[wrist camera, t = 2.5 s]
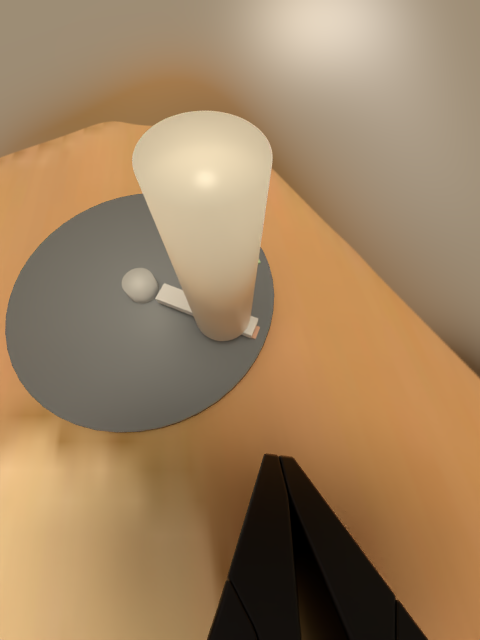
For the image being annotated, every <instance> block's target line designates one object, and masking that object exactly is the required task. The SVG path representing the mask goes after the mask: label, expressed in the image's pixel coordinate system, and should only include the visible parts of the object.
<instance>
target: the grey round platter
mask: <svg viewBox="0 0 480 640" xmlns="http://www.w3.org/2000/svg"><path fill="white" fill-rule="evenodd" d="M164 283H165V284H168V285H170V286H173V287H176V288H178V289H181V290H183V289H182V287H181V285H180V282H179V280H178V277H177V275H176V272H175V270H174V268H173V265H172V263H171V260H170V258H169V256H168V253H167V251H166V248H165V246H164V243H163V241H162V239H161V236H160V234H159V231H158V229H157V227H156V224H155V222H154V219H153V217H152V214H151V212H150V210H149V207H148V205H147V202H146V200H145V197H144V195H143V194H136V195H130V196H125V197H120V198H117V199H113V200H110V201H107V202H104V203H101V204H99V205H97V206H94V207H92V208H90V209H88V210H86V211H84V212H82V213H80V214H78V215H76V216H75V217H73V218H72V219H70V220H69V221H67V222H66V223H64V224H63V225H61V226H60V227H59V228H58V229H56V230H55V231H54V232H53V233H51V234H50V235H49V236H48V237H47V238H46V239H45V240H44V241H43V242H42V243H41V244H40V245H39V247H38V248H37V249H36V250H35V251H34V253H33V254H32V255H31V256H30V258H29V259H28V261H27V262H26V264H25V265H24V267H23V269H22V270H21V272H20V274H19V276H18V278H17V280H16V282H15V284H14V287H13V290H12V293H11V296H10V299H9V303H8V308H7V314H6V329H5V334H6V342H7V350H8V353H9V356H10V360H11V363H12V366H13V368H14V370H15V372H16V374H17V376H18V378H19V380H20V381H21V383H22V384H23V385H24V387H25V388H26V389H27V391H28V392H29V393H30V395H31V396H32V397H33V398H35V399H36V400H37V401H38V402H39V403H40V404H41V405H42V406H43V407H44V408H46V409H48V410H49V411H51V412H52V413H54V414H55V415H57V416H58V417H60V418H62V419H65V420H67V421H69V422H71V423H74V424H76V425H79V426H83V427H87V428H90V429H94V430H100V431H110V432H138V431H145V430H150V429H156V428H162V427H165V426H168V425H171V424H175V423H178V422H181V421H183V420H185V419H188V418H190V417H192V416H194V415H196V414H198V413H200V412H202V411H203V410H205V409H207V408H208V407H210V406H211V405H213V404H214V403H216V402H217V401H219V400H220V399H221V398H222V397H223V396H225V395H226V394H227V393H228V392H229V391H231V390H232V389H233V388H234V387H235V386H236V384H237V383H238V382H239V381H240V380H241V379H242V378H243V377H244V376H245V374H246V373H247V372H248V370H249V369H250V367H251V366H252V365H253V363H254V362H255V360H256V358H257V356H258V354H259V352H260V350H261V349H262V347H263V344H264V342H265V339H266V336H267V333H268V330H269V328H270V324H271V319H272V314H273V305H274V289H273V279H272V275H271V271H270V267H269V264H268V262H267V259H266V257H265V254H264V252H263V250H262V249H261V247H260V253H259V260H258V267H257V274H256V281H255V289H254V296H253V303H252V310H251V316H253V317H256V318H258V323H257V325H256V328H255V330H254V333H253V335H252V338H248V337H246V336H243V335H240V336H238V337H237V338H235V339H232V340H229V341H216V340H213V339H210V338H208V337H207V336H205V335H204V334H203V333H202V332H201V331H200V329H199V328H198V326H197V323H196V321H195V318H194V316H192V315H189V314H186V313H184V312H181V311H179V310H176V309H174V308H171V307H168V306H166V305H163V304H161V303H158V302H157V300H156V299H155V298H156V296H157V294H158V293H159V291H160V289H161V288H162V286H163V284H164Z"/></svg>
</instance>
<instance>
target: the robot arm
mask: <svg viewBox="0 0 480 640" xmlns="http://www.w3.org/2000/svg"><path fill="white" fill-rule="evenodd" d="M207 640H428V639H427V637H426V636H425V635H424V633H423V632H422V631H421V629H420V628H419V627H418V625H417V624H416V623H415V621H414V620H413V619H412V617H411V616H410V615H409V613H408V612H407V611H406V609H405V608H404V607H403V605H402V604H401V602H400V601H399V600H396V597H395V595H394V593H393V592H392V591H391V589H390V588H389V586H388V585H387V584H386V582H385V581H384V580H383V578H382V577H381V576H380V574H379V573H378V572H377V570H376V569H375V567H374V566H373V565H372V563H371V562H370V561H369V559H368V558H367V557H366V555H365V554H364V553H363V551H362V550H361V549H360V547H359V546H358V544H357V543H356V542H355V540H354V539H353V538H352V536H351V535H350V534H349V532H348V531H347V530H346V528H345V527H344V526H343V524H342V523H341V521H340V520H339V519H338V517H337V516H336V515H335V513H334V512H333V511H332V509H331V508H330V507H329V505H328V504H327V502H326V501H325V500H324V498H323V497H322V496H321V494H320V493H319V492H318V490H317V489H316V488H315V486H314V485H313V484H312V482H311V481H310V479H309V478H308V477H307V475H306V474H305V473H304V471H303V470H302V469H301V467H300V466H299V465H298V463H297V462H296V460H295V459H294V458H293V457H289V456H279V457H278V456H277V455H273V454H264V456H263V460H262V463H261V466H260V470H259V473H258V476H257V480H256V483H255V486H254V489H253V493H252V496H251V499H250V503H249V506H248V509H247V513H246V516H245V519H244V523H243V526H242V529H241V533H240V536H239V539H238V543H237V546H236V549H235V552H234V556H233V559H232V562H231V566H230V569H229V572H228V576H227V580H226V582H225V585H224V588H223V591H222V595H221V598H220V601H219V605H218V608H217V611H216V614H215V617H214V620H213V623H212V626H211V629H210V632H209V635H208V638H207Z"/></svg>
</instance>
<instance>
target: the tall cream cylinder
mask: <svg viewBox="0 0 480 640" xmlns="http://www.w3.org/2000/svg"><path fill="white" fill-rule="evenodd" d="M132 164H133V170H134V173H135V176H136V178H137V181H138V183H139V185H140V188H141V190H142V193H143V195H144V197H145V200H146V202H147V205H148V207H149V210H150V212H151V214H152V217H153V219H154V222H155V224H156V227H157V229H158V231H159V234H160V236H161V239H162V241H163V243H164V246H165V248H166V251H167V253H168V256H169V258H170V260H171V263H172V265H173V268H174V270H175V272H176V275H177V277H178V280H179V282H180V285H181V287H182V289H183V290H181V289H178V288H176V287H173V286H170V285H168V284H165V283H164V284H163V286H162V288H161V289H160V291H159V293H158V294H157V296H156V298H155V299H156V300H157V302H158V303H161V304H163V305H166V306H168V307H171V308H174V309H176V310H179V311H181V312H184V313H186V314H189V315H192V316H194V318H195V321H196V323H197V326H198V328H199V329H200V331H201V332H202V333H203V334H204V335H205V336H207V337H208V338H210V339H213V340H216V341H229V340H232V339H235V338H237V337H238V336H240V335H243V336H246V337H248V338H252V335H253V333H254V330H255V328H256V325H257V323H258V318H256V317H253V316H251V310H252V303H253V296H254V289H255V281H256V274H257V267H258V260H259V253H260V246H261V239H262V232H263V225H264V217H265V210H266V203H267V196H268V189H269V182H270V175H271V168H272V149H271V146H270V144H269V142H268V140H267V138H266V137H265V135H264V134H263V133H262V132H261V131H260V130H259V129H258V128H257V127H256V126H254V125H253V124H251V123H250V122H248V121H246V120H245V119H242V118H240V117H237V116H235V115H231V114H227V113H223V112H217V111H193V112H186V113H182V114H178V115H174V116H172V117H169V118H166V119H164V120H162V121H160V122H158V123H157V124H155V125H154V126H152V127H151V128H150V129H149V130H147V131H146V132H145V133H144V134H143V136H142V137H141V138H140V139H139V141H138V142H137V144H136V146H135V149H134V152H133V158H132Z"/></svg>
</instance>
